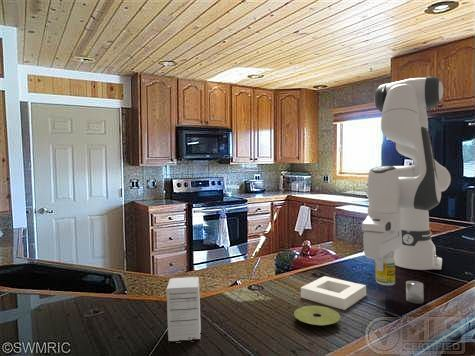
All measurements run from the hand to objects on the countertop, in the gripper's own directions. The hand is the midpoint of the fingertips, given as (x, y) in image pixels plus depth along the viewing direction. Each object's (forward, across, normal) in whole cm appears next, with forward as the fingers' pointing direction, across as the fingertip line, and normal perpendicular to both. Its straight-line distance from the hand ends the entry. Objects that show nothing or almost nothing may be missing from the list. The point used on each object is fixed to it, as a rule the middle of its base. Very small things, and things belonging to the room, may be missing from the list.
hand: (385, 267), depth 97 cm
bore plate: (+9, +9, -12) cm, 17 cm away
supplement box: (+9, +53, -27) cm, 60 cm away
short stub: (+9, -3, +7) cm, 12 cm away
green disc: (+9, +27, -7) cm, 29 cm away
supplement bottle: (+5, 0, 0) cm, 5 cm away
